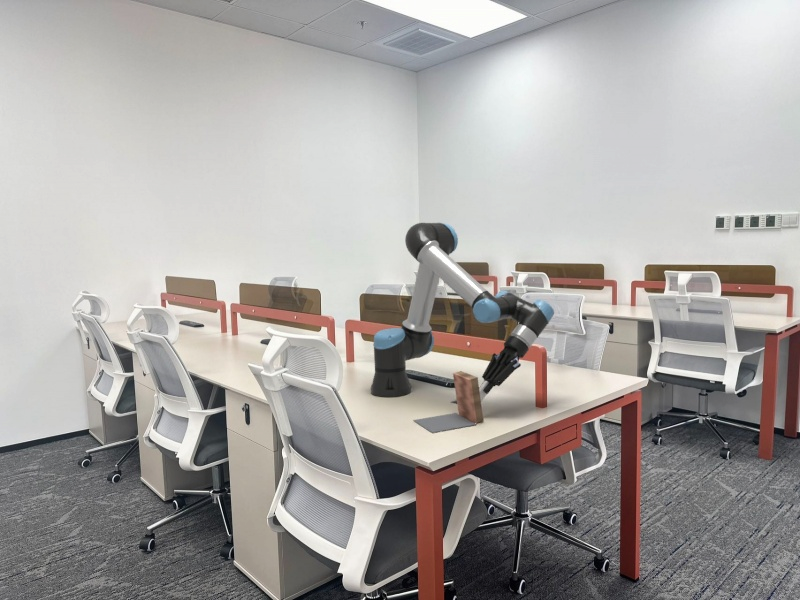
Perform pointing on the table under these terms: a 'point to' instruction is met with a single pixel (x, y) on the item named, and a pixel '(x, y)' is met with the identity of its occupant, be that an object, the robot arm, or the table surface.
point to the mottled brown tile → (468, 396)
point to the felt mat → (444, 422)
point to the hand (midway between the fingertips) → (476, 399)
